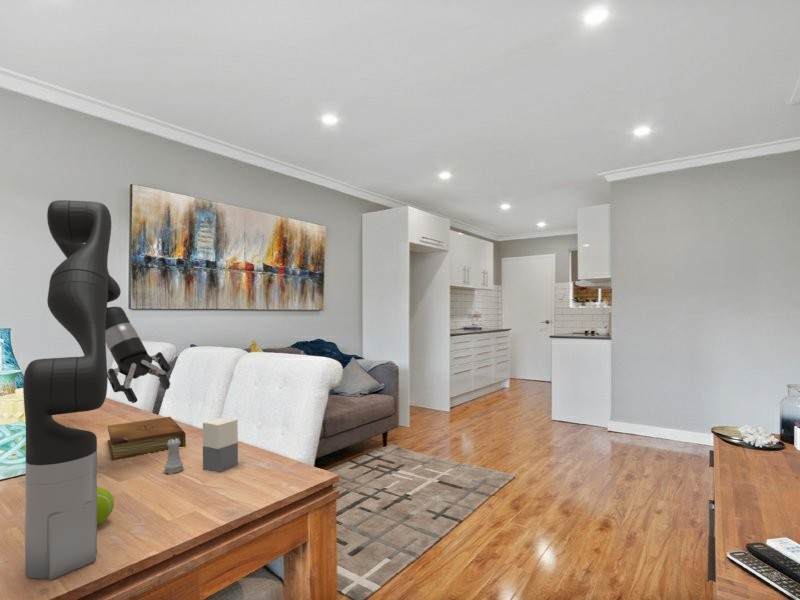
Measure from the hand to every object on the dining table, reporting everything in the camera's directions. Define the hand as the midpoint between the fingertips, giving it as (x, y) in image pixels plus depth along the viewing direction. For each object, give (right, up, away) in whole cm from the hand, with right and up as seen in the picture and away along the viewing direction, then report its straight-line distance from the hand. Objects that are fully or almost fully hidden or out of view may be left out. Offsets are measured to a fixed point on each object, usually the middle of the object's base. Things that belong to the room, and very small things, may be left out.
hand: (151, 395), depth 116 cm
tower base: (+20, -18, -3) cm, 27 cm away
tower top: (+20, -12, -3) cm, 23 cm away
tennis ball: (+8, -18, -34) cm, 39 cm away
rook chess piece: (+9, -19, -5) cm, 21 cm away
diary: (-13, -20, +19) cm, 30 cm away
